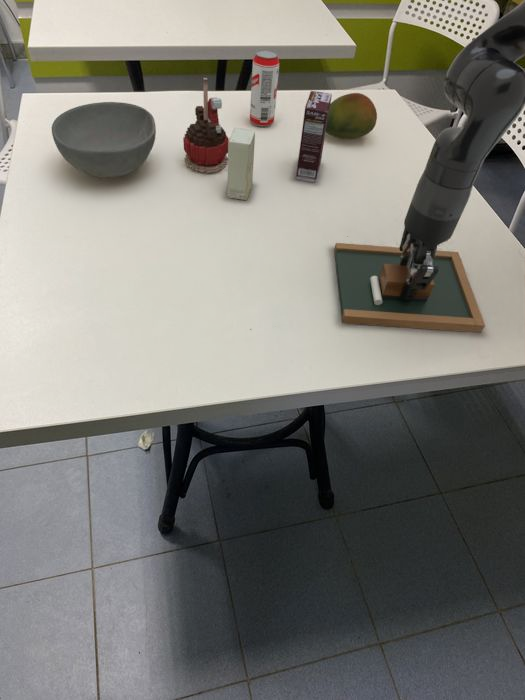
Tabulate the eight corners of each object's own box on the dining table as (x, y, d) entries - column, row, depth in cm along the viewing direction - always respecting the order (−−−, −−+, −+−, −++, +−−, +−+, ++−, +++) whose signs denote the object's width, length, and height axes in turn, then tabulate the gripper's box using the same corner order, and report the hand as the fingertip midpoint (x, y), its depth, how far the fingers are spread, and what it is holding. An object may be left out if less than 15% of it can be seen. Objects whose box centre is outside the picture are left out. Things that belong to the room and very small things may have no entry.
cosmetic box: (246, 201, 102) (250, 145, 93) (226, 197, 103) (227, 141, 93) (252, 185, 106) (256, 130, 97) (232, 181, 107) (234, 126, 97)
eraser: (421, 284, 88) (429, 267, 85) (426, 301, 85) (434, 284, 82) (377, 280, 87) (383, 263, 84) (381, 298, 85) (387, 281, 82)
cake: (179, 154, 112) (174, 69, 98) (218, 149, 115) (219, 66, 101) (193, 179, 106) (190, 92, 92) (233, 173, 109) (236, 88, 95)
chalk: (379, 277, 87) (372, 274, 86) (384, 300, 83) (377, 298, 82) (375, 282, 88) (368, 280, 87) (379, 306, 84) (372, 304, 83)
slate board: (454, 259, 95) (458, 251, 94) (480, 332, 83) (485, 325, 82) (334, 250, 94) (335, 242, 93) (342, 323, 82) (344, 315, 80)
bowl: (57, 149, 110) (45, 103, 102) (149, 140, 115) (144, 96, 107) (67, 200, 98) (55, 152, 90) (168, 187, 103) (165, 141, 96)
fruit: (378, 142, 123) (389, 102, 115) (338, 153, 118) (347, 111, 111) (349, 122, 129) (358, 82, 121) (311, 131, 124) (317, 90, 117)
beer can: (251, 128, 123) (256, 58, 110) (247, 116, 127) (250, 47, 114) (276, 128, 124) (283, 58, 112) (271, 116, 128) (277, 48, 116)
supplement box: (300, 160, 115) (310, 89, 102) (320, 164, 114) (333, 93, 102) (294, 180, 109) (304, 107, 97) (315, 183, 109) (328, 111, 97)
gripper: (475, 235, 68) (432, 319, 81) (451, 179, 77) (417, 263, 91) (422, 231, 68) (388, 316, 81) (404, 175, 77) (376, 260, 90)
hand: (403, 288), depth 86 cm, fingers closed on eraser, 4 cm apart
